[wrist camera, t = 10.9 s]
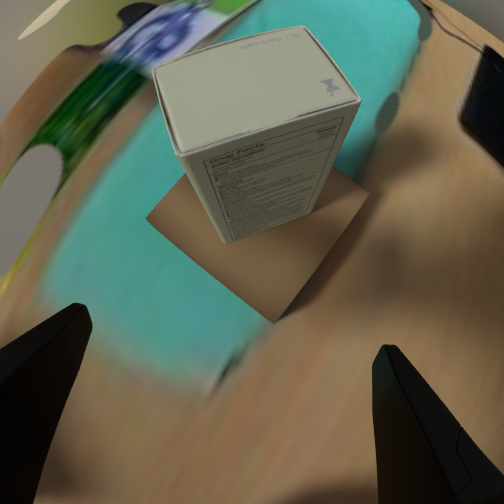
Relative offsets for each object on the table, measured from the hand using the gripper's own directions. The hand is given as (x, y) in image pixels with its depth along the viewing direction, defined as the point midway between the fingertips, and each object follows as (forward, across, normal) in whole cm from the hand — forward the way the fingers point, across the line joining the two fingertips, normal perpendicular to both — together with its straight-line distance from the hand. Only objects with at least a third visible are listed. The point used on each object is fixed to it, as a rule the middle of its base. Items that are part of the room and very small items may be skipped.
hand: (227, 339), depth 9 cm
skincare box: (+14, 0, +2) cm, 14 cm away
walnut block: (+16, 0, +4) cm, 16 cm away
